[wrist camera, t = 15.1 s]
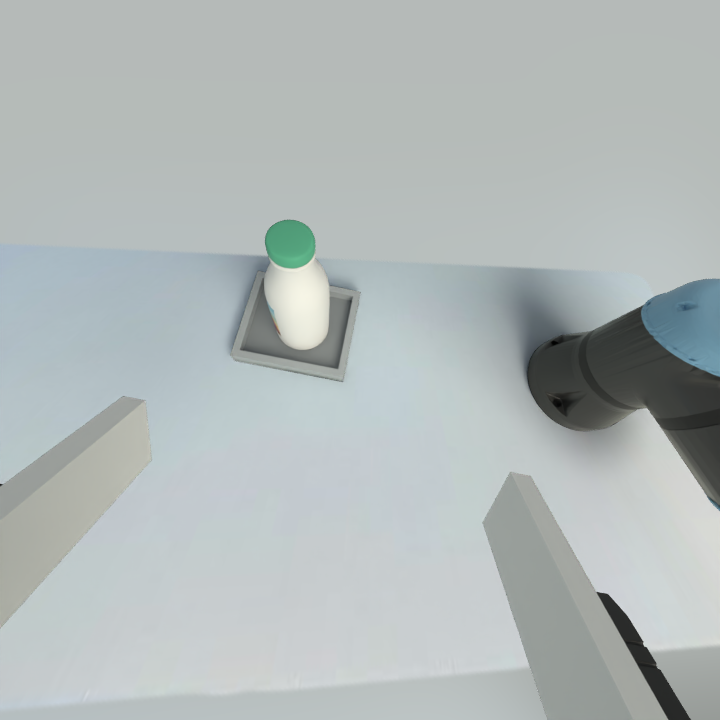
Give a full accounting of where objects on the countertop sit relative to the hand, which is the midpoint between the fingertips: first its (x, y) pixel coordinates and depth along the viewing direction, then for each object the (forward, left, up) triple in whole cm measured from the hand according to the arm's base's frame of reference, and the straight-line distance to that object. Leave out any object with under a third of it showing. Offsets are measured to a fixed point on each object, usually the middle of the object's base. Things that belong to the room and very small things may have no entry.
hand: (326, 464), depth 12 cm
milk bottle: (+7, -19, -33) cm, 39 cm away
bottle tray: (+8, -19, -33) cm, 39 cm away
